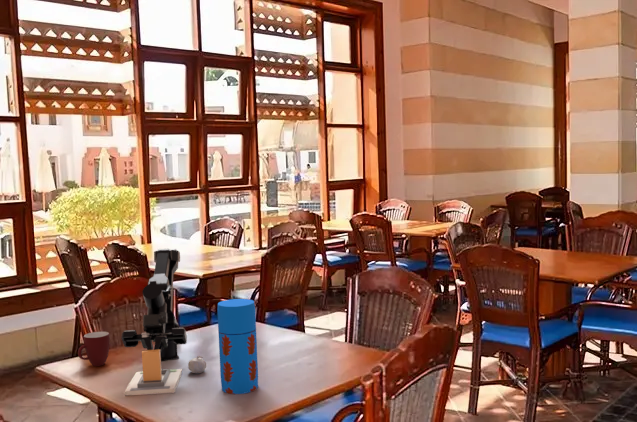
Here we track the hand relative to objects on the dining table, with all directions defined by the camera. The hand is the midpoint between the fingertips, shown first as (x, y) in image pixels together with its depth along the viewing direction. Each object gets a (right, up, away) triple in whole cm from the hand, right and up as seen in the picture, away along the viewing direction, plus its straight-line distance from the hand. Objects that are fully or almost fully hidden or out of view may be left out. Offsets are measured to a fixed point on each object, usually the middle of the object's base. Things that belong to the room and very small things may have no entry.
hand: (152, 362), depth 203 cm
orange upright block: (0, -6, -1) cm, 6 cm away
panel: (0, -7, +3) cm, 7 cm away
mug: (-25, -6, +24) cm, 35 cm away
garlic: (+11, -6, +12) cm, 18 cm away
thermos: (+26, -7, -4) cm, 27 cm away
